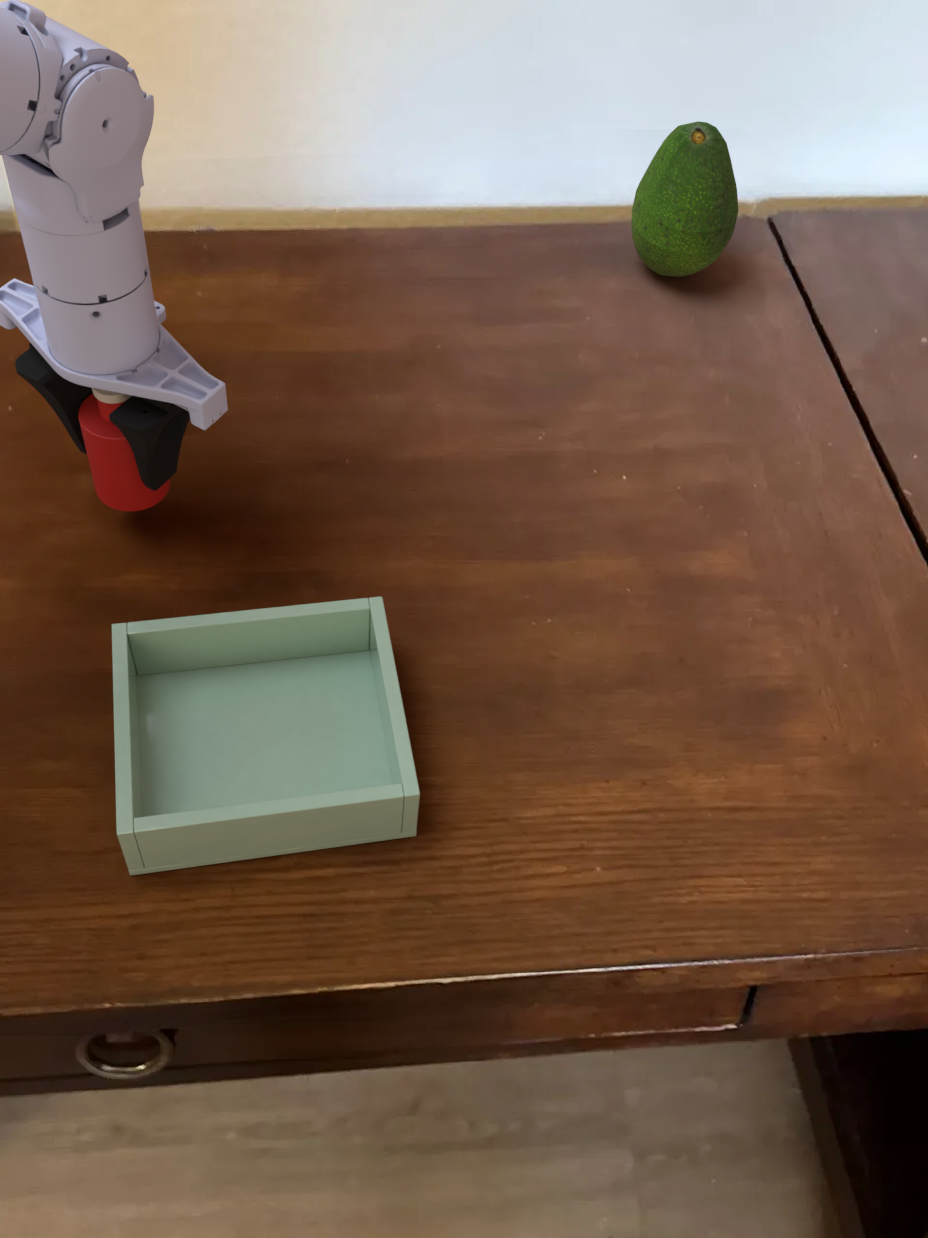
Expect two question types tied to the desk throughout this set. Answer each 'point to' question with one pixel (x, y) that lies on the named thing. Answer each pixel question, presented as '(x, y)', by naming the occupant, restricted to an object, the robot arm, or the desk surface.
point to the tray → (259, 735)
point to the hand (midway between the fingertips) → (128, 461)
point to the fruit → (685, 202)
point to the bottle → (113, 456)
